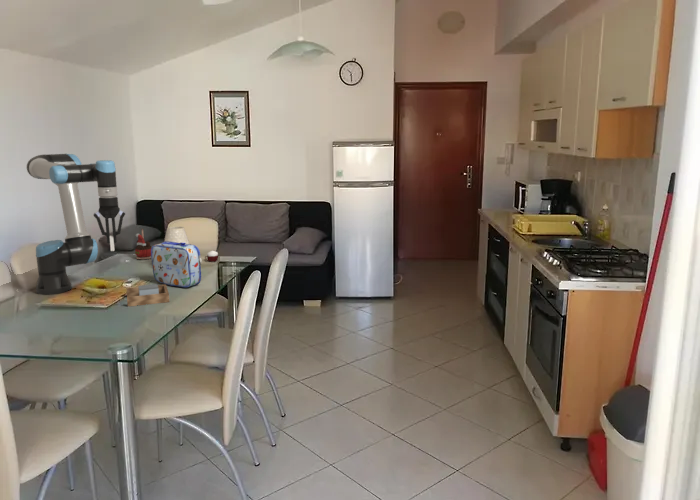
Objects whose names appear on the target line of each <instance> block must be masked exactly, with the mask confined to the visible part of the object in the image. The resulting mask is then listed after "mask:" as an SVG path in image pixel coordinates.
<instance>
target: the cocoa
mask: <svg viewBox="0 0 700 500" xmlns="http://www.w3.org/2000/svg"><path fill="white" fill-rule="evenodd" d="M220 244H221V240H220V239H219V240H218V244H217V247H216V250H210V251H207V253H206V256H204V259H205V260H206V261H207V262H209V263H215V262H217V261H218V259H219V253H218V250H219V247H220Z"/></svg>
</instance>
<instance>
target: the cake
mask: <svg viewBox="0 0 700 500" xmlns="http://www.w3.org/2000/svg"><path fill="white" fill-rule="evenodd" d="M135 237H136V238H137V241H136V247H135V251H134V253H135V258H136V259H137V260H149V259H152V258H151V248H152V245H151V242H150V241H145V237H144V228H141V234H140V233H136V234H135Z"/></svg>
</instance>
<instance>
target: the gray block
mask: <svg viewBox="0 0 700 500" xmlns="http://www.w3.org/2000/svg"><path fill="white" fill-rule="evenodd" d="M158 285H159V284H158V283H154V284H144V285H138V286H137V287H139V296H141V295H151V294H159V289H158Z"/></svg>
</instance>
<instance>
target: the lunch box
mask: <svg viewBox="0 0 700 500" xmlns="http://www.w3.org/2000/svg"><path fill="white" fill-rule="evenodd" d="M150 259H151V266H152V267H151V268H152V273H153V277H154V279H155V280H156V281H157V282H158V283H160V284H163V285H165V284H166V286H167V285H168V286H170V287H171V286H172V287H179V288H189V287H192V286H195V285H199V284H200V283H201V280H202V269H201V266H202V263H203V260H202V257H201V252H200V249H199V247H198V246H196V245H195V244H191V243H190V244H185V243H176V242H169V241H166V242H164V241H163V242H161V243H157V244H154V245H151V258H150Z"/></svg>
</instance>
